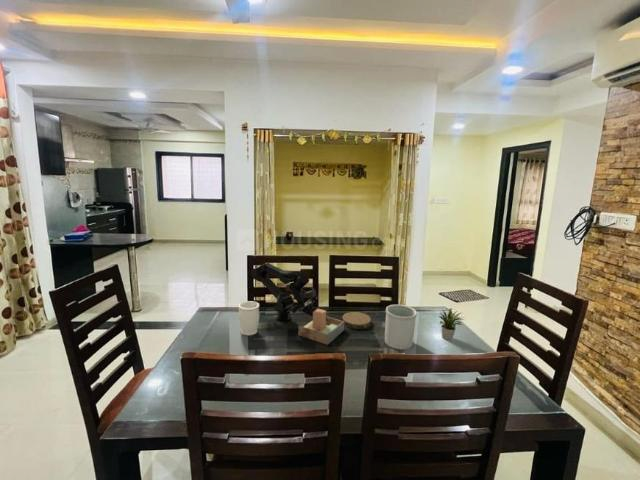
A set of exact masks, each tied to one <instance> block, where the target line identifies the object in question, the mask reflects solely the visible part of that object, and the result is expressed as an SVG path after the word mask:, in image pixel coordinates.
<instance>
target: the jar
mask: <svg viewBox="0 0 640 480" xmlns="http://www.w3.org/2000/svg"><path fill="white" fill-rule="evenodd" d="M259 308H260V303H259V302H257V301H252V300H248V301H243V302H242V301H241V302H240V303H239V304H238V313H237V315H238V316H237V317H238V323H239V327H240V333H241V334H242V335H243V336H254V335H255V334H257V333H258V329H257V328H258V327H259V321H260V309H259Z"/></svg>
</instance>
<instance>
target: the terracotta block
mask: <svg viewBox="0 0 640 480" xmlns="http://www.w3.org/2000/svg"><path fill="white" fill-rule="evenodd" d="M326 316H327V310H325V309H320V308H316V309H314V312H313V317H312V321H313V327H312V328H315V329H318V330H322V329H323V328H324V327H325V326H326Z"/></svg>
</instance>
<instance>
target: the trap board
mask: <svg viewBox="0 0 640 480" xmlns="http://www.w3.org/2000/svg"><path fill="white" fill-rule="evenodd" d="M332 322H333V317H330V316H327V315H326V326H325V327H324V328H323V329H322V330H318V329H315V328H312V327H313V320H311V321H310V322H308V323H307V324H306V325H304V326H301V325H298V328H297V330H298V331H297V332H298V333H297V334H298V335H297V336H301V337H303V338H307V339H310V340H311V341H315V342H317V341H316V331H318V332H322V331H323V330H324V329H326V328H327V327H328V326H329V325H331V324H332Z"/></svg>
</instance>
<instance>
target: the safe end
mask: <svg viewBox="0 0 640 480" xmlns="http://www.w3.org/2000/svg"><path fill="white" fill-rule="evenodd" d="M332 318H333V317H332ZM344 330H345V325H344V321H342V320H340V319H336V318H333V322H332V324H331V325H329V326H328V327H327V328H326V329H324V330H323V331H322V332H318V331H316V341H315V342H318V343H321V344H324V345H327V346H329V344H330V343H331V342H332V341H334V340H335V339H336V338H338V336H339V335H340V334H341V333H343V331H344Z"/></svg>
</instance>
